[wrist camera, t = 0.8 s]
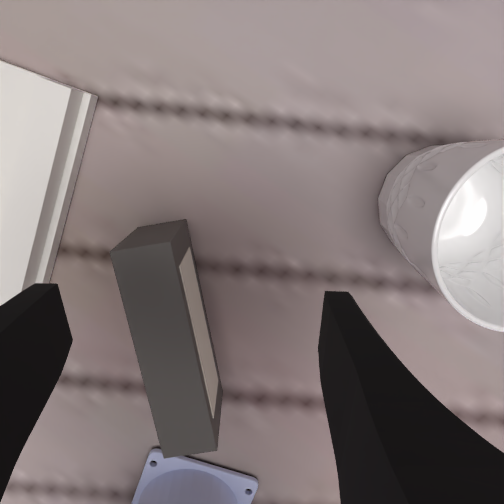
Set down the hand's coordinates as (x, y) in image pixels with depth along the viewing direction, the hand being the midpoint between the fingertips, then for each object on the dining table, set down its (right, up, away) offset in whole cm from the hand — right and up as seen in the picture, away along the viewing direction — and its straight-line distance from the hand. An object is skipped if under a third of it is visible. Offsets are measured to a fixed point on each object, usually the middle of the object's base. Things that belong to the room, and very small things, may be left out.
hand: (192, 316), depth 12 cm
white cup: (+13, +5, +15) cm, 20 cm away
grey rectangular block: (-3, -2, +17) cm, 17 cm away
